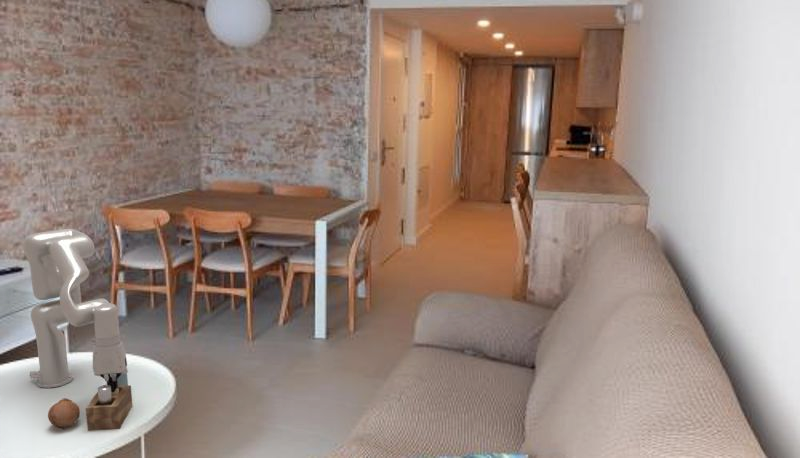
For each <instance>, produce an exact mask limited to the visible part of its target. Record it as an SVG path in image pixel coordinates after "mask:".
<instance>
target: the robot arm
mask: <svg viewBox="0 0 800 458" xmlns="http://www.w3.org/2000/svg"><path fill="white" fill-rule="evenodd" d="M22 244H23V252H24V255H25V257H26V260H27V261H28V263H29V268H30V277H31V280H30V281H31V288H32V293H33V296H34V297H35V299H36V300H40V301H46V300H50V301H46V302H42V303H40V304H36V305H35V306H34V307H33V308H32V309H31V311H30V319H31V322H32V326H33V329H34V334H35V340H36V346H37V347H36V348H37V355H38V365H39V370H38V371H33V370H32V371H30V372H29V377H30V379H32V380H33V379H36V386H38V387H40V388H43V389H44V388H47V389H51V388H58V387H60V386H61V387H62V386H64V385H67V384H69V383H71V382H72V381H73V380H74V379H75V378H74V373H72V372H70V371H69V362H68V353H67V345H66V337H65V334H64V333H63V331H62V330H60V329H59V328H58V326H61V325H63V324H69V325H71V326H73V327H77V328H78V327H82V326H85V325H90V324H94V335H95V336H94V337H91V339H90V340H91V342H94V345H93V348H92V371H93V375H94V376H95V377H96V376H97V377H101V378H102V379H103V380H104V381H105V382H106V385H110V386H111V392H114V391H115V390H116V389H117V387H118V384H117V378H118V377H119V376H120V375H124V374H127V375H128V372H129V370H128V368H127V367H128V361H127V354H126V349H125V347H124V343H123V341H121V334H120V323H119V321H120V320H119V313H118V307H117V305H116V304H114V303H110V302H109V301H108V300H107V299H105V298H95V299H93V300H88V301H84V302H82V296H81V295H82V293H81V284H82V283H83V282H85V281H86V280H87V279H88V277H89V276H90V271H89V268H88V267H87V265H86V263H85V261H84V259H86V258H90V257H92V256H93V255H94V254H95V245H94V241H93V240H92V239H91V237H89V236H88V235H87V234H86V233H84V232H81V231H79V230H76V229H74V228H62V229H55V230H49V231H43V232H38V233H31V234H30V235H28V236H26V237H25V238H24V240H23V243H22ZM57 270H58V271H57ZM55 298H59V299H55ZM51 299H53V300H51ZM111 374H113V376H112V377H111Z"/></svg>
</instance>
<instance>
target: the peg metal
mask: <svg viewBox="0 0 800 458" xmlns="http://www.w3.org/2000/svg"><path fill="white" fill-rule="evenodd" d="M97 392H98V399H99V406H102V405H112V395H111V386H110V385H107V384H104V385H100V386H99V387H97Z"/></svg>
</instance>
